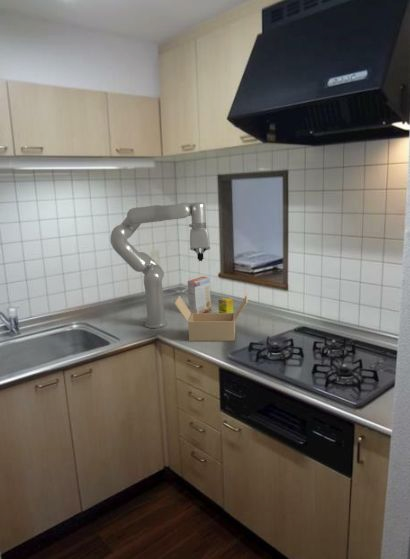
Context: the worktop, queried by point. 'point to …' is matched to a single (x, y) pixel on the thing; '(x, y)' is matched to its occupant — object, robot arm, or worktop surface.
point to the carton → (211, 327)
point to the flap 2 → (240, 308)
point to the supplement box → (225, 305)
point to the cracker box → (199, 295)
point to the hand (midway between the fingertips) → (200, 260)
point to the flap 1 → (182, 308)
